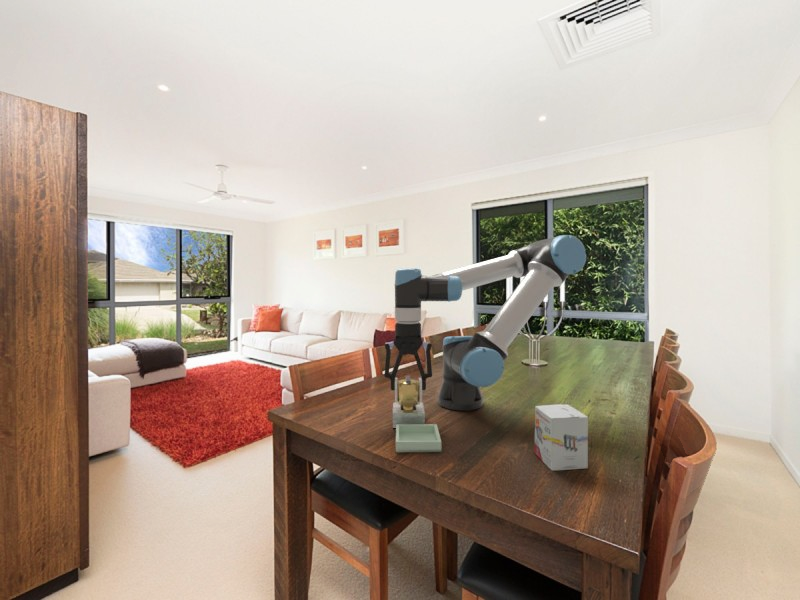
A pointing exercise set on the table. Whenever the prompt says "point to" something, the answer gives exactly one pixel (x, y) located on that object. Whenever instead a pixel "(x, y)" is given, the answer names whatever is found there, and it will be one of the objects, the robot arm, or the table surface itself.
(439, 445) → the tray
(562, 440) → the ink box
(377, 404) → the table surface
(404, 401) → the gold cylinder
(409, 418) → the silver square block
